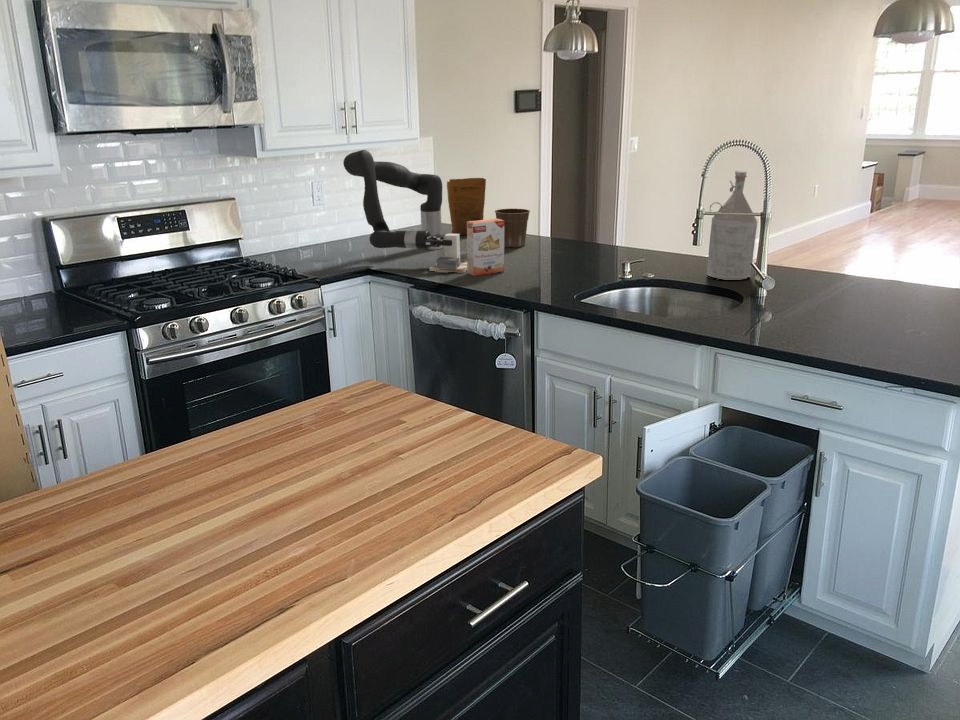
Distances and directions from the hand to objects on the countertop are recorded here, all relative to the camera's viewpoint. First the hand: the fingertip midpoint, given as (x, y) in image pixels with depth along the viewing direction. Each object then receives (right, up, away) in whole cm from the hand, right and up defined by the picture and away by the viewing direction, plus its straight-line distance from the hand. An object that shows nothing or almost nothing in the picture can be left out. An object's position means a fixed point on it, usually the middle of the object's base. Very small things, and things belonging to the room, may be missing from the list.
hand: (455, 241), depth 315 cm
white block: (-1, -9, +3) cm, 9 cm away
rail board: (-1, -10, +4) cm, 11 cm away
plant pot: (+25, +5, +46) cm, 53 cm away
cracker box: (+13, -14, -7) cm, 20 cm away
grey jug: (+104, -17, -21) cm, 107 cm away
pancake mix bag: (+4, +14, +74) cm, 75 cm away
